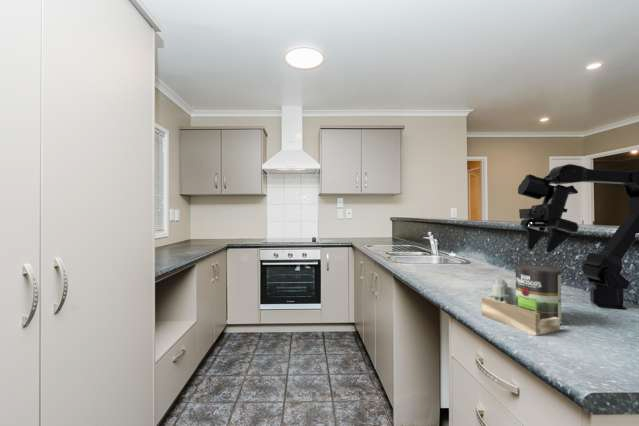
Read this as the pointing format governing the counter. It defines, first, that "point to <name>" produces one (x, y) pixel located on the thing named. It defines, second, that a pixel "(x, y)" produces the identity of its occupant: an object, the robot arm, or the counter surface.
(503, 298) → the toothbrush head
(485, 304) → the maple cradle
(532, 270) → the dark container
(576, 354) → the counter surface
